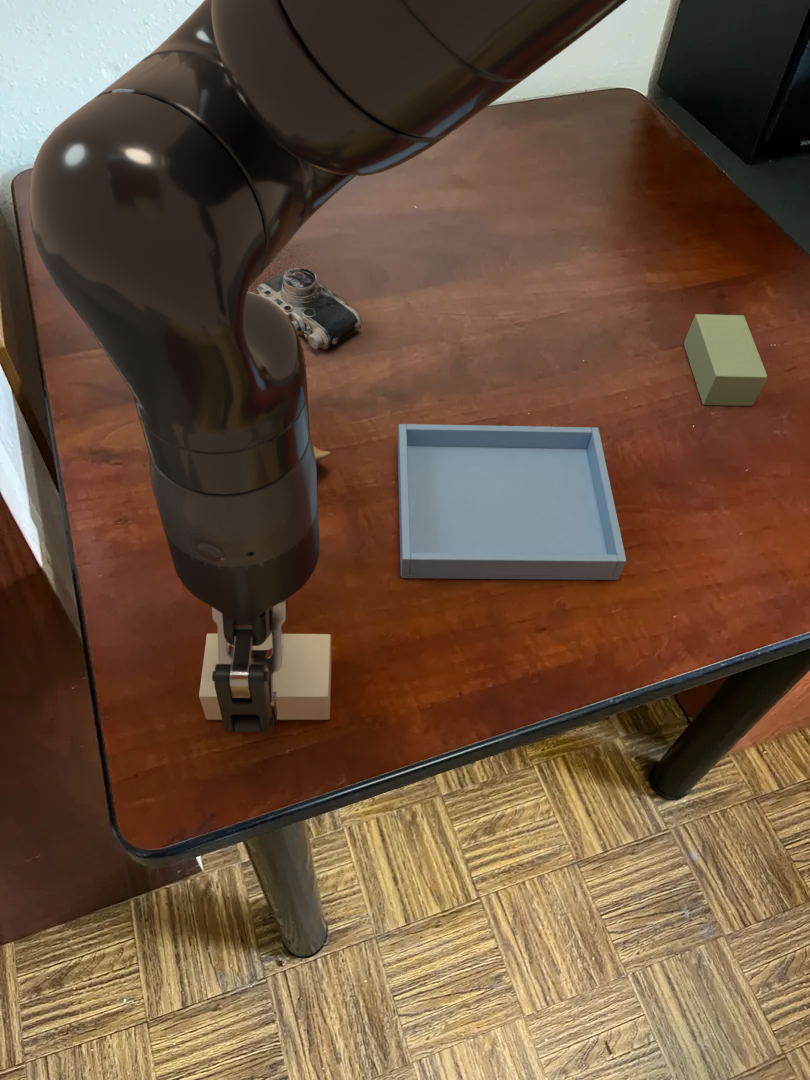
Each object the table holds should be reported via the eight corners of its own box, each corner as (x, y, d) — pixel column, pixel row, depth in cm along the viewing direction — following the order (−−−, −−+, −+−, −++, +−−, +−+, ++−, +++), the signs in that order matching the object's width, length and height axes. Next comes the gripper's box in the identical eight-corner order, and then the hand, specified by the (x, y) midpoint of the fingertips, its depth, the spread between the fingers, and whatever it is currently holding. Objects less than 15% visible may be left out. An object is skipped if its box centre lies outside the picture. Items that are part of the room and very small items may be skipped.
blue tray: (591, 447, 72) (598, 427, 70) (618, 580, 64) (626, 561, 62) (397, 444, 71) (398, 423, 69) (400, 578, 63) (402, 559, 61)
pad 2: (730, 344, 81) (744, 314, 78) (752, 406, 76) (768, 377, 73) (683, 343, 80) (695, 313, 78) (702, 405, 76) (716, 375, 73)
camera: (323, 360, 77) (321, 323, 73) (248, 304, 81) (244, 266, 77) (364, 335, 79) (365, 297, 75) (290, 281, 83) (287, 243, 79)
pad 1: (213, 658, 59) (206, 633, 56) (331, 659, 59) (330, 633, 56) (206, 720, 56) (198, 696, 53) (329, 720, 57) (328, 696, 54)
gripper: (311, 628, 38) (320, 766, 51) (322, 394, 46) (327, 565, 59) (135, 626, 37) (190, 766, 50) (179, 390, 45) (216, 563, 59)
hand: (264, 657), depth 55 cm, fingers open, 8 cm apart
